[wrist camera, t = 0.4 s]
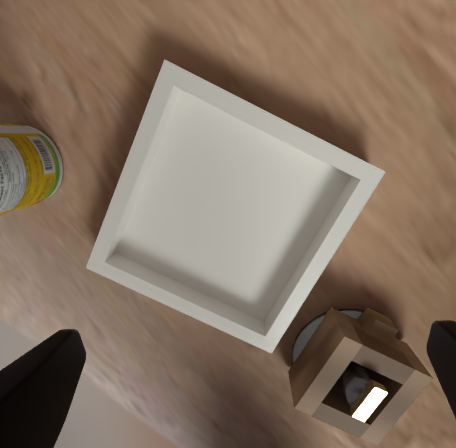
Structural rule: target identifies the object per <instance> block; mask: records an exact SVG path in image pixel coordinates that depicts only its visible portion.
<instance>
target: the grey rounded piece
mask: <svg viewBox="0 0 456 448" xmlns="http://www.w3.org/2000/svg"><path fill="white" fill-rule="evenodd" d="M338 311H340V312H342V313H344V314H346V315H348V316H350V317H352V318H355V319H357V320H359V319H360V317H361V316H362V314H363V313H364V311H361V310H355V309H341V310H338ZM326 314H327V313H324V314H322V315H320V316H318V317H316V318H315V319H313V320H312V321H310V322H309V323H308V324H307V325H306V326H305V327H304V328H303V329H302V330H301V332H300V333H299V334H298V336H297V338H296V340H295V343H294V346H293V353H292V358H293V364H294V362H295V361H296V359H297V358H298V356H299V355H300V353H301V352H302V350H303V348H304V347H305V345H306V344H307V342H308V341H309V339H310V338H311V336H312V335H313V333H314V332H315V330H316V329H317V327H318V326H319V324H320V323H321V321H322V320H323V318H324V317H325V315H326ZM394 338H397V337H396V335H395V337H394ZM339 379H340V382H341V384H342V387H343V390H344V393H345V395H346V398H347V401H348V403H349V406H350V408H349V410H350V412H351V415H352V417H354V418H356V419H358V420H361V421H363V422H365V421H366V420H367V418H368V417H369V416H370V415H371V413H372V412H373V411H374V410H375V408H377V406H378V405H379V403H380V402H381V401H382V400H383V398H384V397H385V396H386V395H387V393H388V392H387V390H386V388H385V387H384V385H382V384H380V383H378V382H375V381H373V380H372V379H371V377H370V375H369V373H368V371H367V367H364V366H362V365H360V364H358V363H356V362H354V361H351V362H350V363H349V365H348V366H347V368H346V369H345V370H344V372H343V373H342V375H341V376H340V377H339Z"/></svg>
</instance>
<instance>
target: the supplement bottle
mask: <svg viewBox="0 0 456 448" xmlns="http://www.w3.org/2000/svg"><path fill="white" fill-rule="evenodd" d="M62 177H63V165H62V159H61V156H60V154H59V151H58V149H57V148H56V146H55V144H54V143H53V142H52V141H51V139H50V138H49V137H48V136H46V135H45V134H44V133H42V132H41V131H39V130H38V129H36V128H33V127H31V126H27V125H23V124H12V123H0V215H1V214H4V213H8V212H11V211H14V210H17V209H20V208H23V207H26V206H29V205H33V204H36V203H39V202H41V201H44V200H46V199H48V198H49V197H51V196H52V195H53V194H54V193H55V192H56V191H57V189H58V188H59V186H60V184H61V181H62Z"/></svg>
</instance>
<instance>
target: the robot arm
mask: <svg viewBox="0 0 456 448" xmlns="http://www.w3.org/2000/svg"><path fill="white" fill-rule="evenodd" d="M427 354H428V357H429V359H430V361H431V364H432V366H433V368H434V371H435V373H436V375H437V377H438V380H439V382H440V384H441V387H442V389H443V391H444V394H445V396H446V398H447V401H448V403H449V405H450V407H451V410H452V412H453V414H454V416H455V418H456V322H455V321H451V320H443V321H435V322H434V323H433V324H432V327H431V330H430V334H429V338H428V342H427ZM85 360H86V351H85V348H84V345H83V342H82V340H81V337H80V334H79V332H78V331H77V330H75V329H63V330H59V331H58V332H56V333H55V334H53V335H52V336H50V337H49V338H47V339H46V340H44V341H43V342H42V343H40V344H39V345H37V346H36V347H34V348H33V349H32V350H30V351H28V352H27V353H25V354H24V355H23V356H21V357H20V358H19V359H17V360H15V361H14V362H12V363H11V364H9V365H8V366H7V367H5V368H3V369H2V370H1V371H0V448H53V447H54V445H55V443H56V441H57V438H58V436H59V434H60V432H61V429H62V427H63V424H64V422H65V419H66V417H67V414H68V411H69V408H70V405H71V402H72V399H73V396H74V393H75V390H76V387H77V384H78V381H79V378H80V375H81V372H82V369H83V366H84V363H85Z"/></svg>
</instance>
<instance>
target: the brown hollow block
mask: <svg viewBox="0 0 456 448" xmlns="http://www.w3.org/2000/svg"><path fill="white" fill-rule="evenodd" d="M398 331H399V330H398V329H397V328H396V326H395V325H394V324H393V322H392V321H391V320H390V318H388V317H386V316H384V315H382V314H380V313H378V312H376V311H374V310H372V309H370V308H368V307H367V309H366V310H365V311H364V313H363V314H362V316H361V317H360V319H359V320H357V319H355V318H352V317H350V316H348V315H346V314H344V313H342V312H340V311H338V310H336V309H334V308H330V309H329V311H328V312H327V314H326V315H325V317H324V318H323V320H322V321H321V323H320V324H319V326H318V327H317V329H316V330H315V332H314V333H313V335H312V336H311V338H310V339H309V341H308V342H307V344H306V345H305V347H304V348H303V350H302V352H301V353H300V355H299V356H298V358H297V359H296V361H295V362H294V364H293V365H292V367H291V368H290V370H289V371H288V372H289V379H290V385H291V391H292V397H293V403H294V409H297V410H299V411H301V412H303V413H305V414H308V415H310V416H312V417H314V418H316V419H319V420H321V421H323V422H325V423H328V424H330V425H332V426H334V427H336V428H339V429H341V430H343V431H345V432H347V433H350V434H352V435H354V436H356V437H359V438H361V439H363V440H365V441H367V442H370V443H372V444H374V445H376V446H377V445H378V443H379V442H380V441H381V440H382V439H383V437H384V436H385V435H386V434H387V433H388V431H389V430H390V429H391V428H392V427H393V425H394V424H395V423H396V422H397V421H398V419H399V418H400V417H401V416H402V415H403V414H404V412H405V411H406V410H407V409H408V408H409V406H410V405H411V404H412V403H413V402H414V400H415V399H416V398H417V397H418V396H419V394H420V393H421V392H422V391H423V390H424V388H425V387H426V386H427V385H428V384H429V382H430V381H431V380H432V379H433V377H432V376H431V375H430V373H429V372H428V371H427V369H426V368H425V367H424V366H423V364H422V363H421V362H420V360H419V359H418V358H417V356H416V355H415V354H414V352H413V351H412V350H411V348H410V347H409V346H408V344H407V343H405V342H403V341H401V340H399V339H397V338H394V337H395V335H396V334H397V333H398ZM351 361H354V362H356V363H358V364H360V365H362V366H364V367H367V371H368V373H369V375H370V377H371V379H372V380H373V381H375V382H378V383H380V384H382V385H384V387H385V388H386V390H387V392H388V393H387V395H386V396H385V397H384V398H383V400H382V401H381V402H380V403H379V405H378V406H377V408H375V410H374V411H373V412H372V413H371V415H370V416H369V417H368V418H367V420H366V421H365V422H363V421H361V420H358V419H356V418H354V417H352V415H351V412H350V410H349V408H350V406H349V403H348V401H347V398H346V395H345V393H344V390H343V387H342V384H341V382H340V379H339V377H340V376H341V375H342V373H343V372H344V370H345V369H346V368H347V366H348V365H349V363H350V362H351Z"/></svg>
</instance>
